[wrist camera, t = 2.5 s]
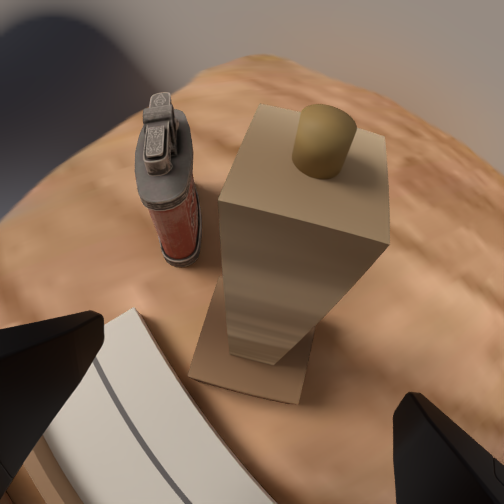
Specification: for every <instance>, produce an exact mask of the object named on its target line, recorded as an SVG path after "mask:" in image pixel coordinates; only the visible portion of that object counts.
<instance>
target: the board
mask: <svg viewBox="0 0 504 504" xmlns="http://www.w3.org/2000/svg"><path fill="white" fill-rule="evenodd" d="M104 335H105V339H104V343H103V345H102V347H101V349H100V350H99V352H98V354H97V355H96V357H95V359H94V360H93V362H92V364H91V366H90V367H89V369H88V371H87V372H86V374H85V376H84V377H83V379H82V381H81V382H80V384H79V385H78V386H77V388H76V389H75V391H74V392H73V393H72V395H71V396H70V397H69V399H68V400H67V401H66V403H65V404H64V405H63V407H62V408H61V410H60V411H59V412H58V414H57V415H56V417H55V418H54V419H53V421H52V422H51V424H50V425H49V426H48V428H47V429H46V431H45V432H44V434H43V435H42V436H41V438H40V439H39V441H38V442H37V444H36V445H35V447H34V448H33V450H32V451H31V452H30V454H29V455H28V457H27V458H26V460H25V461H24V463H23V464H24V466H25V468H26V470H27V472H28V474H29V476H30V477H31V479H32V481H33V483H34V484H35V486H36V488H37V489H38V491H39V493H40V494H41V496H42V497H43V499H44V501H45V502H46V504H277V503H276V502H275V501H274V499H273V498H272V497H271V496H270V495H269V494H268V493H267V492H266V491H265V490H264V489H263V488H262V486H261V485H260V484H259V483H258V482H257V481H256V480H255V478H254V477H253V476H252V475H251V474H250V473H249V472H248V470H247V469H246V468H245V467H244V466H243V464H242V463H241V462H240V461H239V460H238V458H237V457H236V456H235V455H234V453H233V452H232V451H231V450H230V448H229V447H228V446H227V445H226V443H225V442H224V441H223V440H222V438H221V437H220V436H219V434H218V433H217V432H216V430H215V429H214V428H213V426H212V425H211V424H210V422H209V421H208V420H207V418H206V417H205V415H204V414H203V413H202V411H201V410H200V408H199V407H198V406H197V404H196V403H195V401H194V400H193V398H192V397H191V395H190V394H189V393H188V391H187V390H186V388H185V387H184V385H183V384H182V382H181V381H180V379H179V378H178V376H177V374H176V373H175V371H174V370H173V368H172V367H171V365H170V363H169V362H168V360H167V359H166V357H165V355H164V354H163V352H162V350H161V349H160V347H159V345H158V344H157V342H156V340H155V339H154V337H153V335H152V334H151V332H150V330H149V328H148V327H147V325H146V323H145V321H144V320H143V318H142V316H141V314H140V313H139V312H138V311H137V310H136V309H135V308H134V307H133V308H131V309H130V310H128V311H127V312H125V313H123V314H122V315H120V316H118V317H117V318H115V319H113V320H112V321H110V322H109V323H107V324H105V325H104Z"/></svg>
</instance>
